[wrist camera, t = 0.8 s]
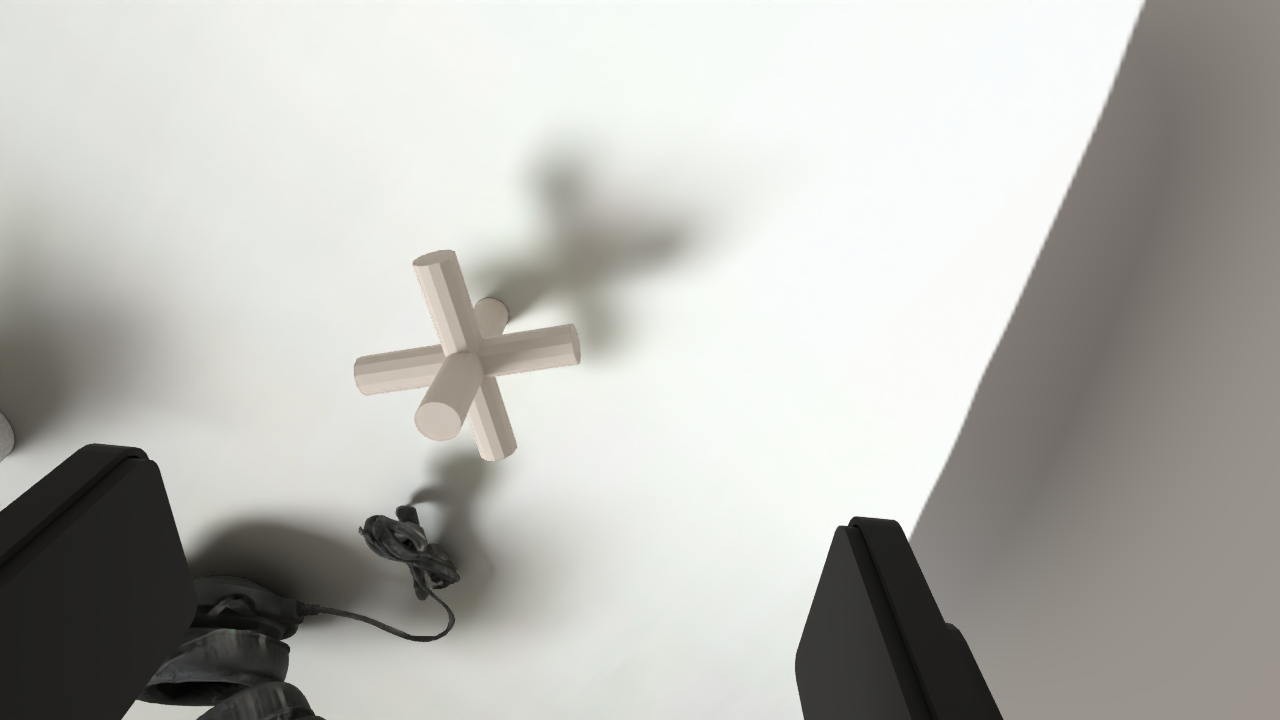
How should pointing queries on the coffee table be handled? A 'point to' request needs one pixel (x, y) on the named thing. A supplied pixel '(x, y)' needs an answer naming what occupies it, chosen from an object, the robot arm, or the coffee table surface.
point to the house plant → (5, 437)
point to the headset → (275, 633)
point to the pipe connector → (465, 360)
